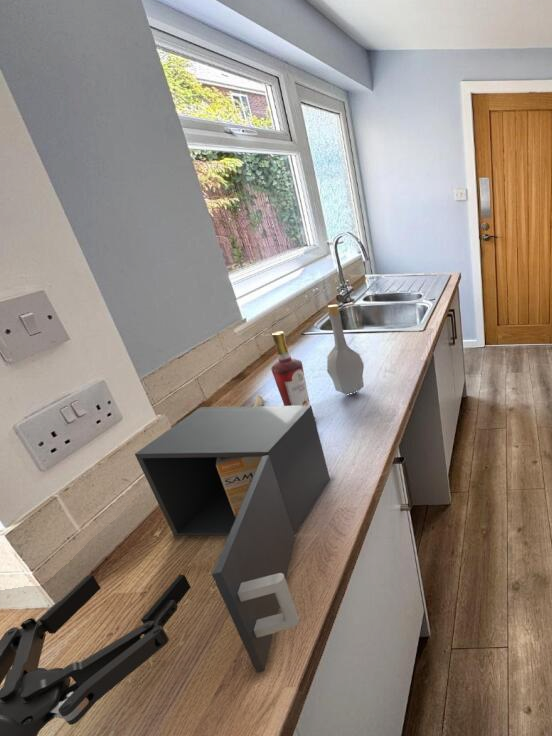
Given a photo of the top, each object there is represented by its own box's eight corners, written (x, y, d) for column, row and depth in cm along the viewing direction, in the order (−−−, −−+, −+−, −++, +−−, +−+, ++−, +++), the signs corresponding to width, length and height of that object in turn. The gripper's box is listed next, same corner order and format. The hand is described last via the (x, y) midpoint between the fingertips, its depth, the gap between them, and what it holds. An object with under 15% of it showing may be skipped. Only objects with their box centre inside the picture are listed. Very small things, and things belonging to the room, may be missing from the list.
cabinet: (295, 536, 78) (267, 452, 70) (174, 537, 79) (134, 453, 71) (330, 480, 93) (311, 405, 85) (228, 481, 94) (200, 407, 86)
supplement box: (234, 518, 82) (213, 466, 77) (235, 503, 86) (216, 452, 80) (280, 502, 85) (263, 451, 80) (279, 489, 89) (263, 439, 84)
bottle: (352, 406, 124) (333, 313, 112) (325, 400, 128) (303, 309, 116) (376, 389, 134) (361, 302, 122) (350, 384, 138) (332, 299, 126)
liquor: (303, 416, 119) (279, 327, 108) (322, 420, 117) (300, 330, 106) (282, 430, 113) (254, 336, 102) (302, 434, 110) (276, 339, 100)
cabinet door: (325, 531, 79) (302, 448, 71) (305, 658, 58) (269, 560, 50) (290, 540, 77) (262, 456, 70) (256, 673, 56) (211, 574, 48)
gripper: (-144, 797, 41) (68, 599, 61) (93, 798, 41) (231, 598, 60) (-196, 758, 38) (44, 564, 58) (59, 759, 38) (215, 562, 57)
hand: (140, 581), depth 59 cm, fingers open, 13 cm apart
